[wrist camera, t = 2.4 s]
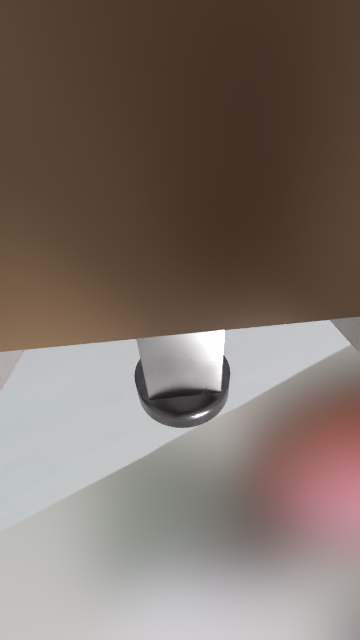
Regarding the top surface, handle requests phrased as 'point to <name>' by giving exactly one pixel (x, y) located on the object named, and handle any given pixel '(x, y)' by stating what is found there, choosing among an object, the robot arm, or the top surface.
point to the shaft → (183, 377)
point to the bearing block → (176, 167)
